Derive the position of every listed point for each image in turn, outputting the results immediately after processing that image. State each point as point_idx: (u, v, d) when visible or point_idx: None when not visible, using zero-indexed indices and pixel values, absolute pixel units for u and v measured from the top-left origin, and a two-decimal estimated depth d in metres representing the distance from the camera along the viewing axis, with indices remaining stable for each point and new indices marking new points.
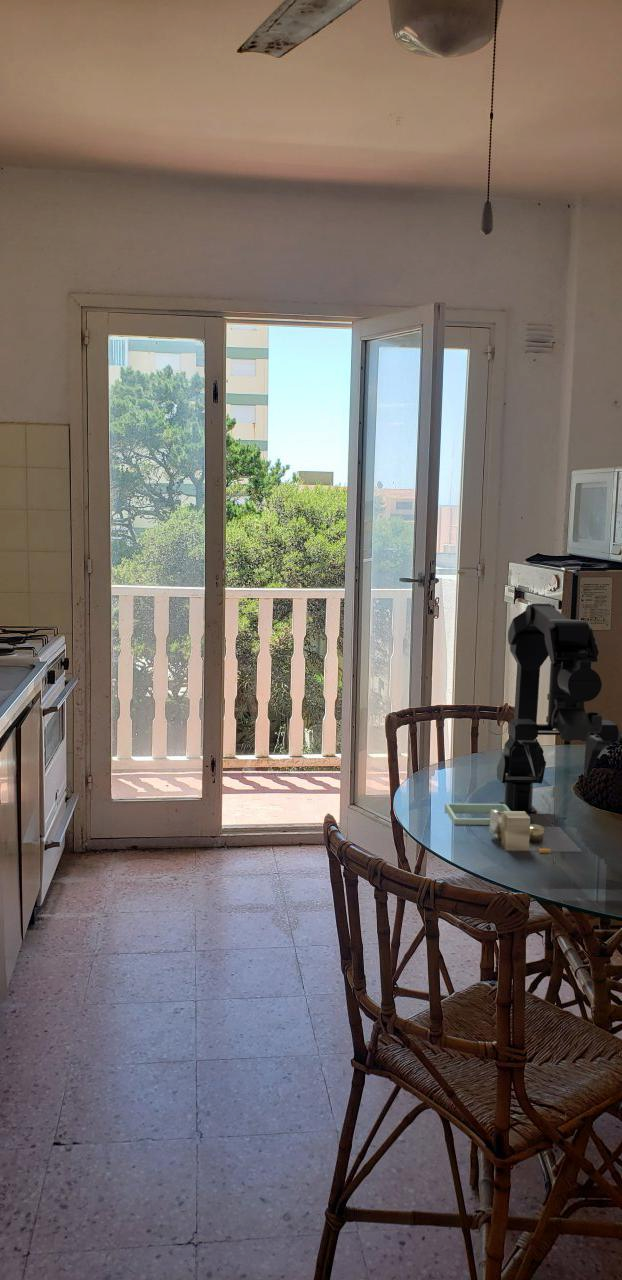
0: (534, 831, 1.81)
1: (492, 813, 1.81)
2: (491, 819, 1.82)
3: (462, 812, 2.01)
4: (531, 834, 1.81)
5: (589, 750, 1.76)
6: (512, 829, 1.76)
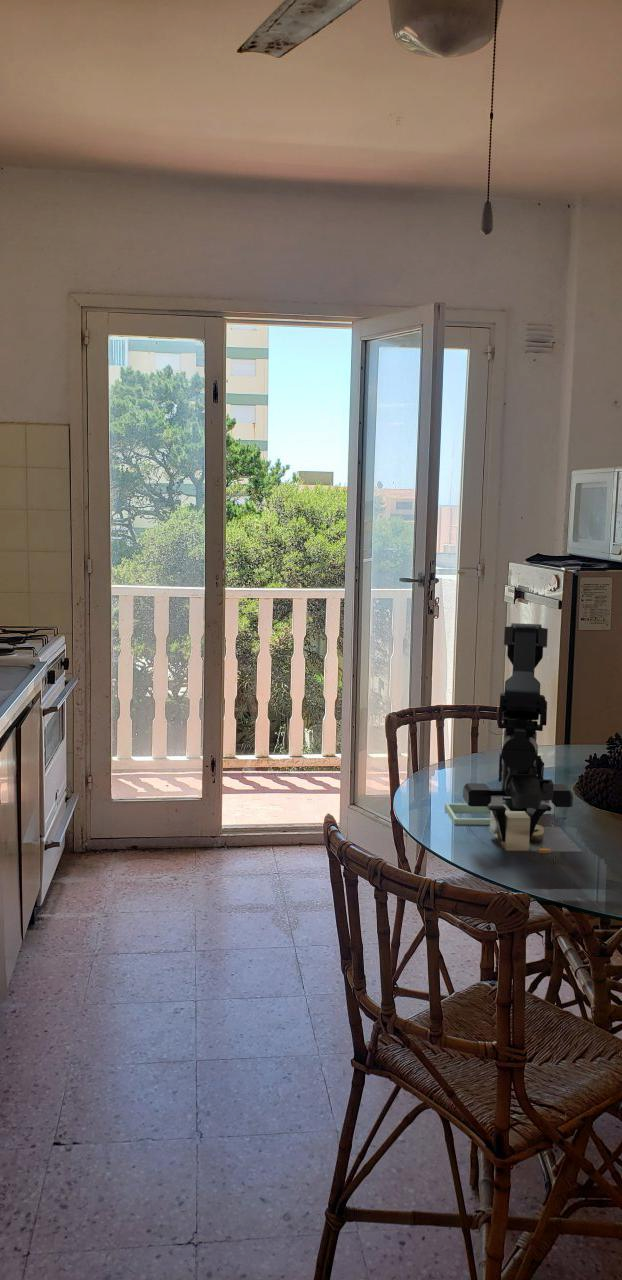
0: (534, 831, 1.81)
1: (492, 813, 1.81)
2: (491, 819, 1.82)
3: (462, 812, 2.01)
4: None
5: (529, 814, 1.78)
6: (512, 829, 1.76)
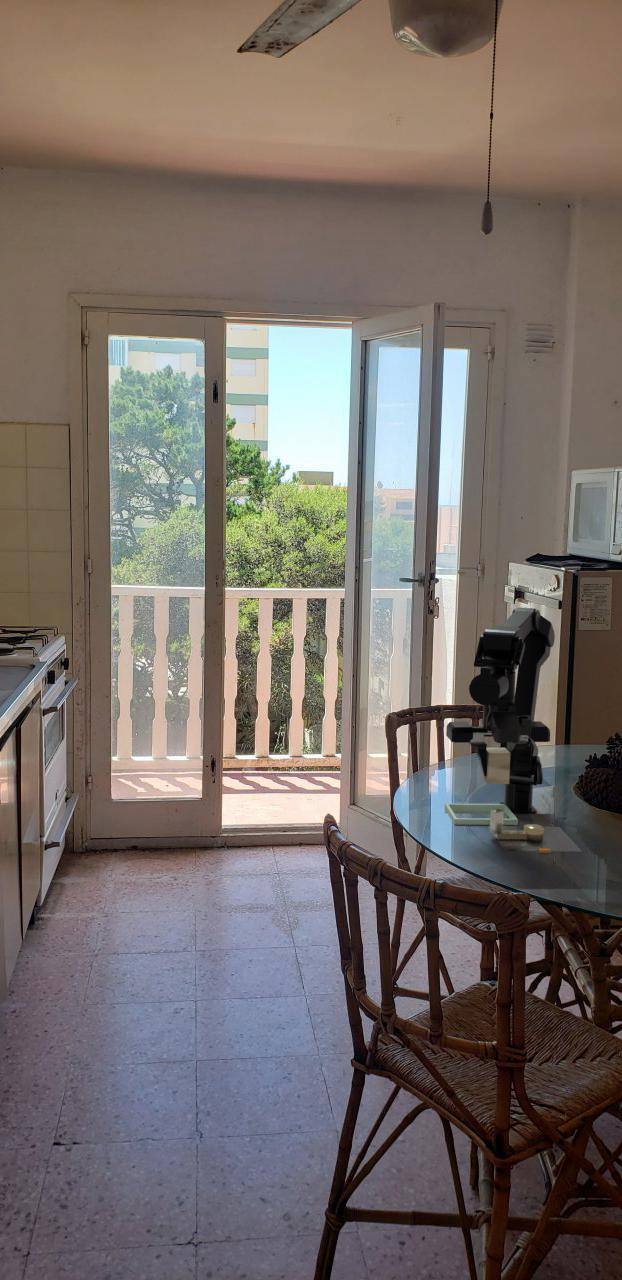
0: (534, 831, 1.81)
1: (492, 813, 1.81)
2: (491, 819, 1.82)
3: (462, 812, 2.01)
4: (531, 834, 1.81)
5: (509, 750, 1.88)
6: (493, 763, 1.86)
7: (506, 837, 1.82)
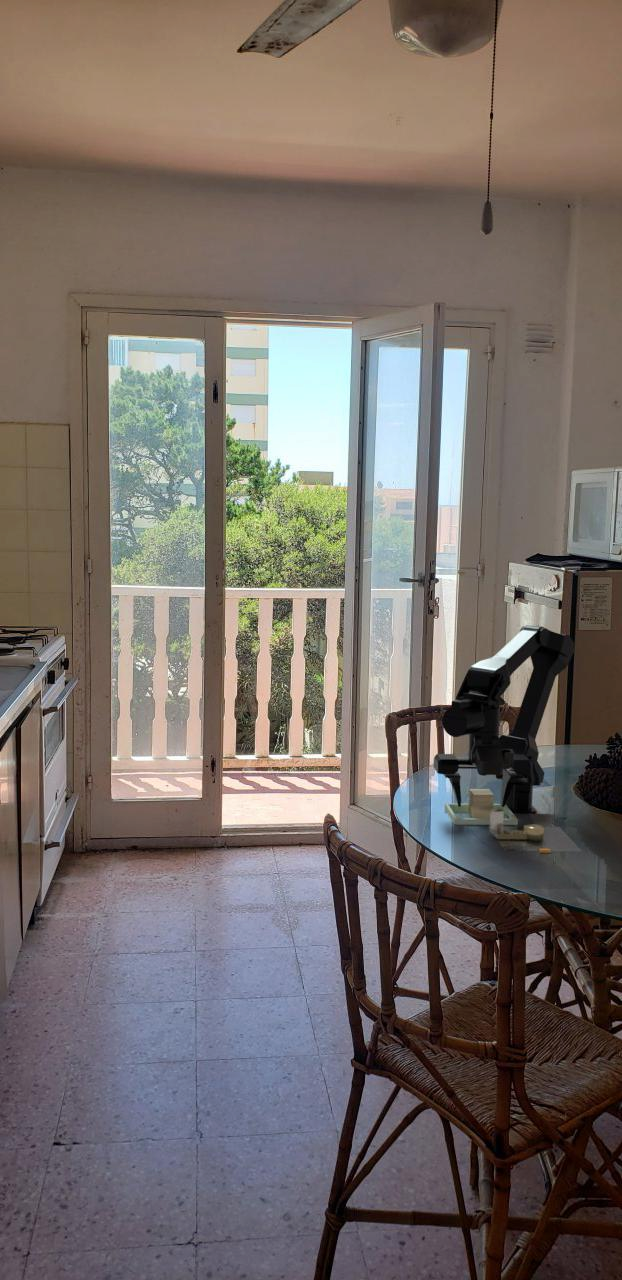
0: (534, 831, 1.81)
1: (492, 813, 1.81)
2: (491, 819, 1.82)
3: (462, 812, 2.01)
4: (531, 834, 1.81)
5: (505, 782, 1.96)
6: (477, 804, 1.94)
7: (506, 837, 1.82)
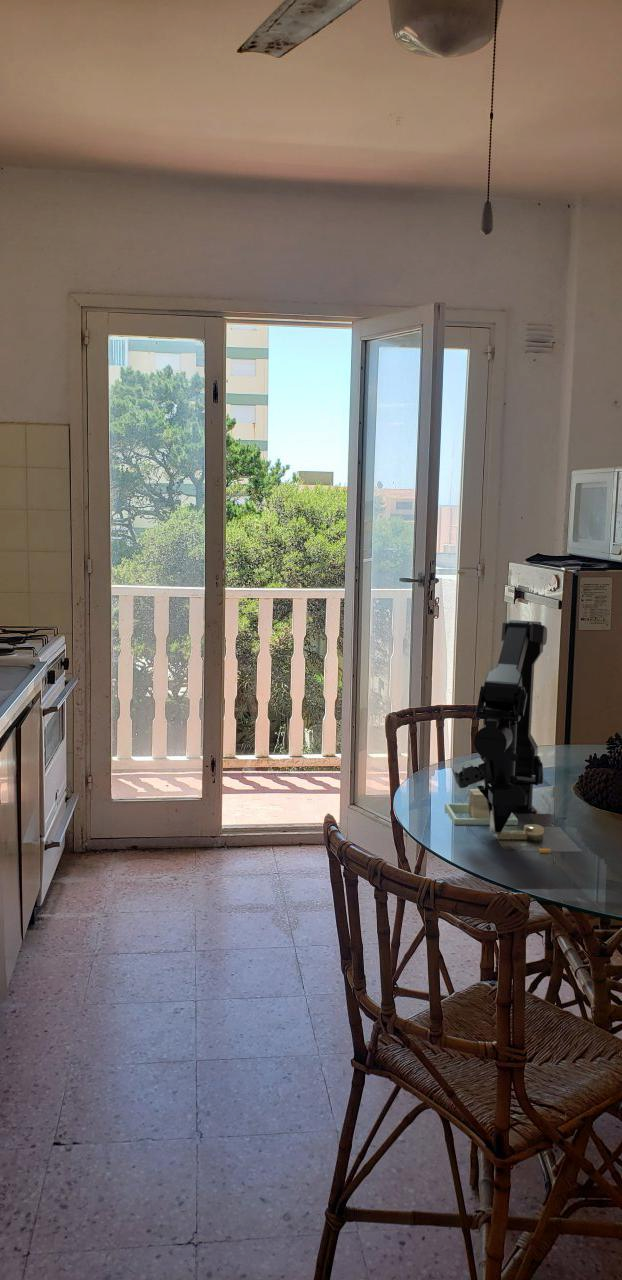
0: (534, 831, 1.81)
1: (492, 813, 1.81)
2: (491, 819, 1.82)
3: (462, 812, 2.01)
4: (531, 834, 1.81)
5: None
6: (477, 804, 1.94)
7: (506, 837, 1.82)
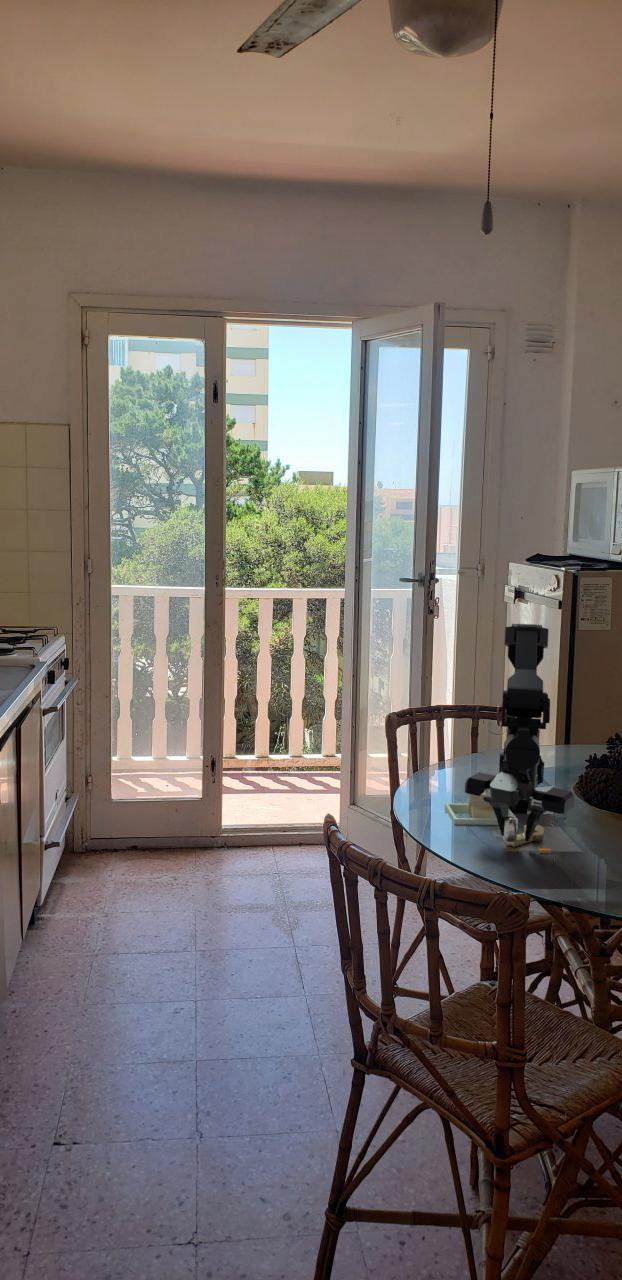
0: (540, 831, 1.81)
1: (510, 821, 1.77)
2: (508, 828, 1.77)
3: (462, 812, 2.01)
4: (538, 834, 1.81)
5: None
6: (477, 804, 1.94)
7: (520, 843, 1.79)
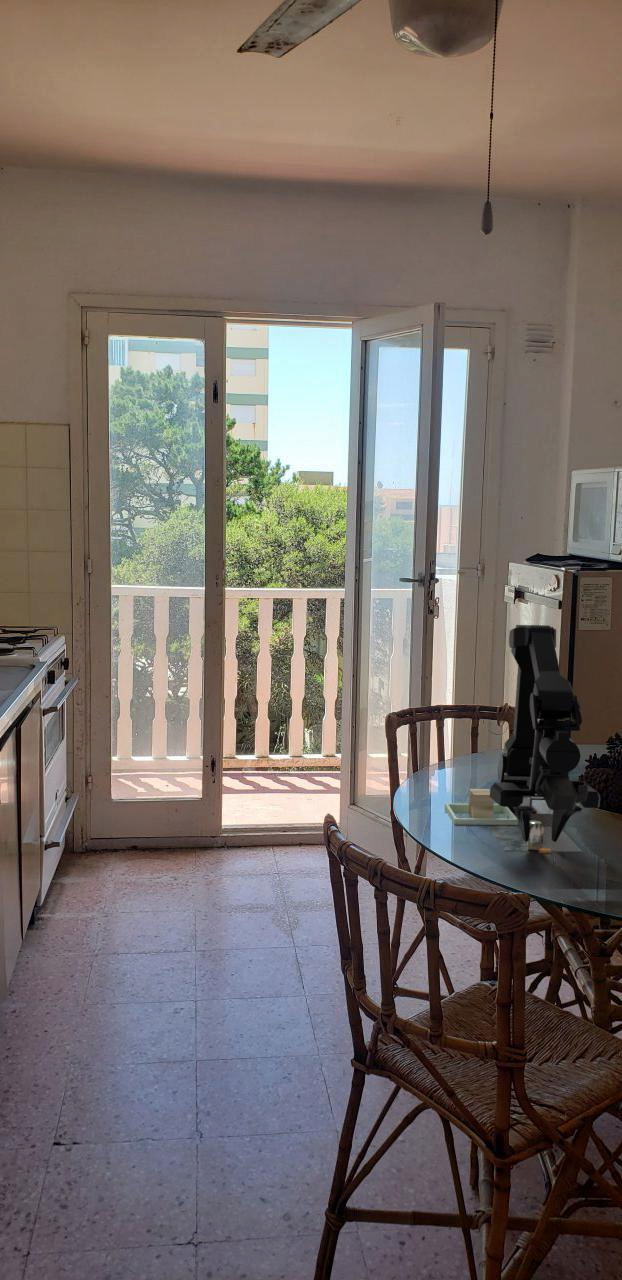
0: (543, 829, 1.82)
1: (538, 826, 1.75)
2: (536, 832, 1.75)
3: (462, 812, 2.01)
4: (542, 833, 1.82)
5: (558, 814, 1.77)
6: (477, 804, 1.94)
7: None
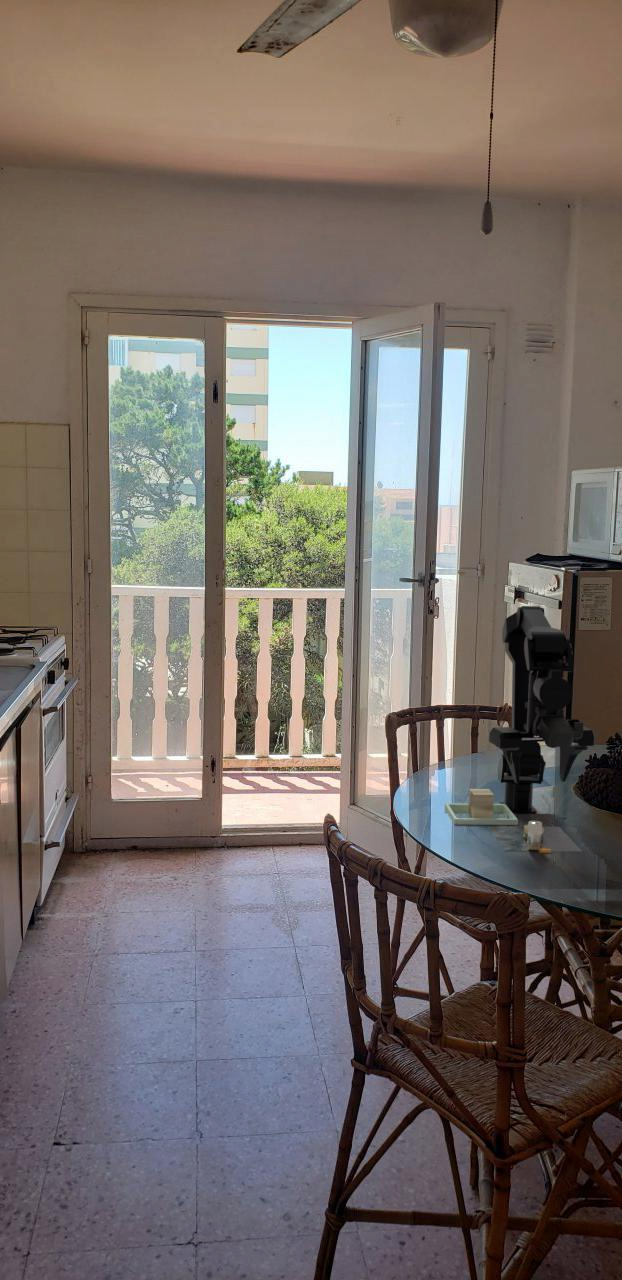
0: (543, 829, 1.82)
1: (538, 826, 1.75)
2: (537, 832, 1.75)
3: (462, 812, 2.01)
4: (542, 833, 1.82)
5: (565, 755, 1.83)
6: (477, 804, 1.94)
7: None
